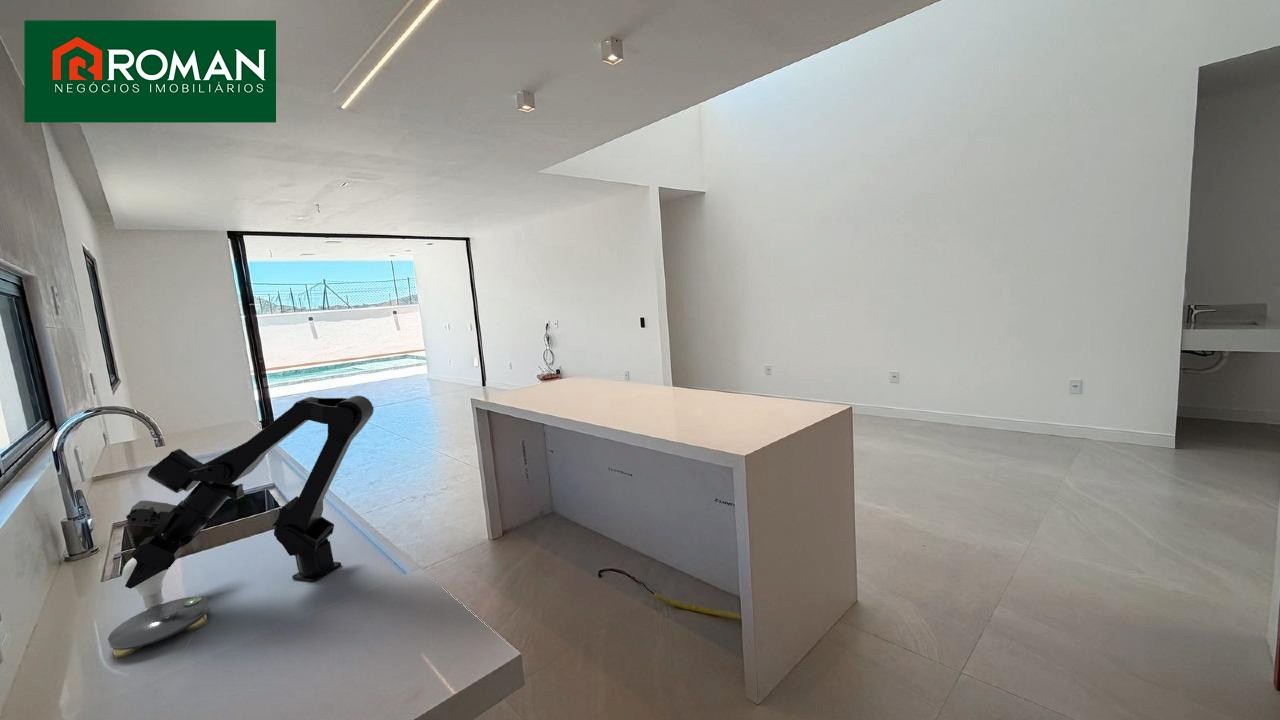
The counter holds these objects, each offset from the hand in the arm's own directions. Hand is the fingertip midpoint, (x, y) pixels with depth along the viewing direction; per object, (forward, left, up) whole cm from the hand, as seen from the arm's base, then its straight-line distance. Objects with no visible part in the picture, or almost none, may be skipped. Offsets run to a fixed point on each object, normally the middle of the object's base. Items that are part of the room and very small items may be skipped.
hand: (139, 575), depth 97 cm
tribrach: (-13, +4, -7) cm, 15 cm away
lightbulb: (-1, -1, -7) cm, 7 cm away
